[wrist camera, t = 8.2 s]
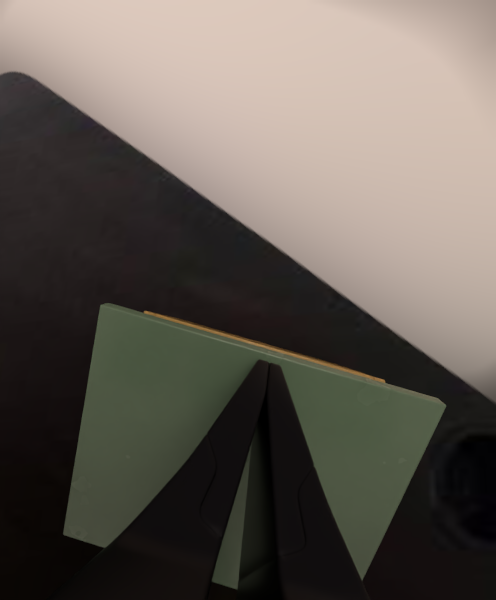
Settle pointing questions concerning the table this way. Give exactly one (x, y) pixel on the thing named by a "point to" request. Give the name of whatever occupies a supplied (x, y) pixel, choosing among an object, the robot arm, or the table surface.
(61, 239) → the table surface
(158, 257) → the table surface
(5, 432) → the table surface
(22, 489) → the table surface
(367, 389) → the green flat panel
